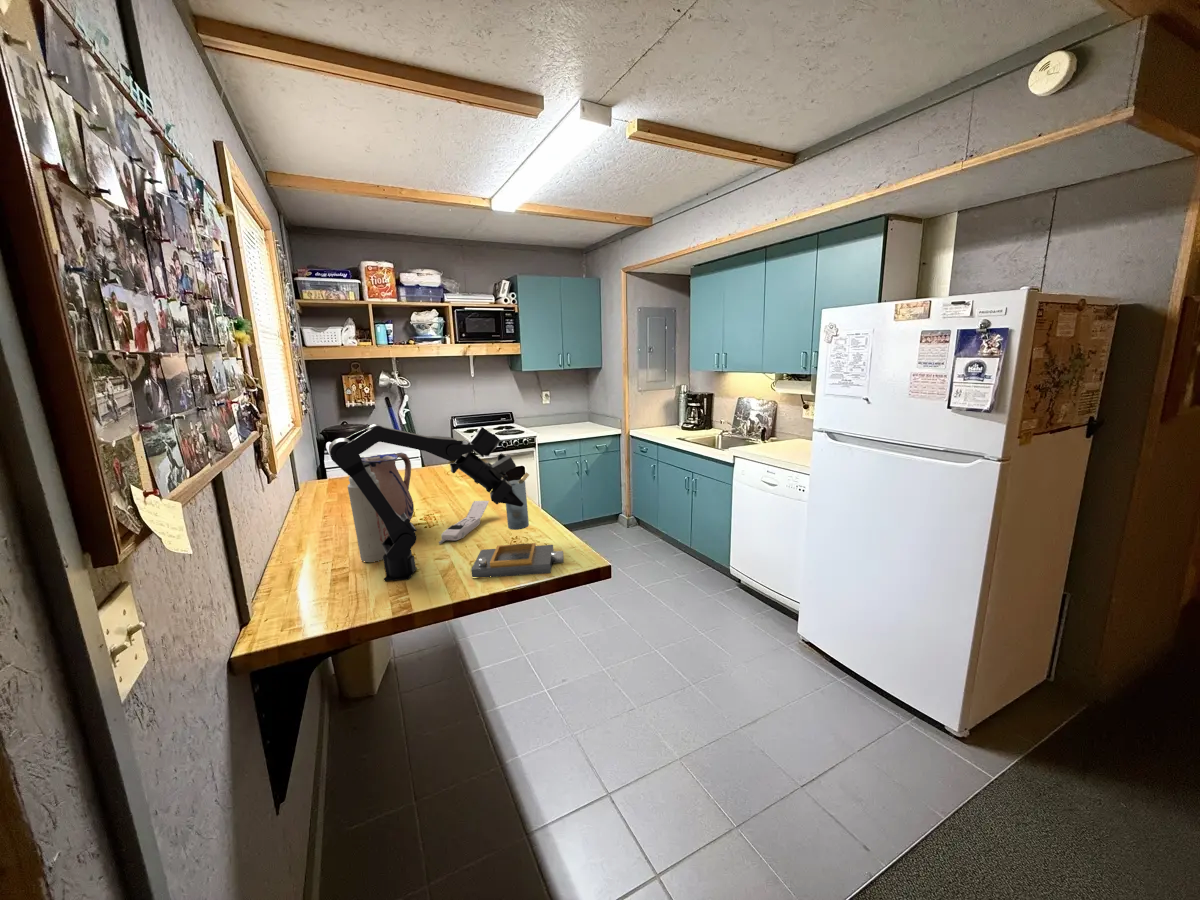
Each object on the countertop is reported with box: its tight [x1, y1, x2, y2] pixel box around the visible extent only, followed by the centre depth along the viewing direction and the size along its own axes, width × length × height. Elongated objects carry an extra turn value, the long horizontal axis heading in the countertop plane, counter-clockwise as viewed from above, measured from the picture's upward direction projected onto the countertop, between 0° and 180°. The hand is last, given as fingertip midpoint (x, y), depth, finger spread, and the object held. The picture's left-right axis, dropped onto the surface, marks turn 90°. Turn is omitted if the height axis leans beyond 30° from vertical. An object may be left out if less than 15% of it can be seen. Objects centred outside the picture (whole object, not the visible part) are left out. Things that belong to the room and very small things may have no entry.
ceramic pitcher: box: [361, 452, 415, 536], centre depth 156 cm, size 18×21×25 cm
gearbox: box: [470, 542, 565, 578], centre depth 126 cm, size 23×12×4 cm, turn 92°
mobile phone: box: [438, 500, 490, 545], centre depth 154 cm, size 6×6×25 cm
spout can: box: [505, 472, 530, 531], centre depth 136 cm, size 7×6×16 cm
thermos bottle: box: [347, 462, 389, 563], centre depth 134 cm, size 8×8×28 cm
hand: (521, 501), depth 137 cm, fingers closed on spout can, 6 cm apart
